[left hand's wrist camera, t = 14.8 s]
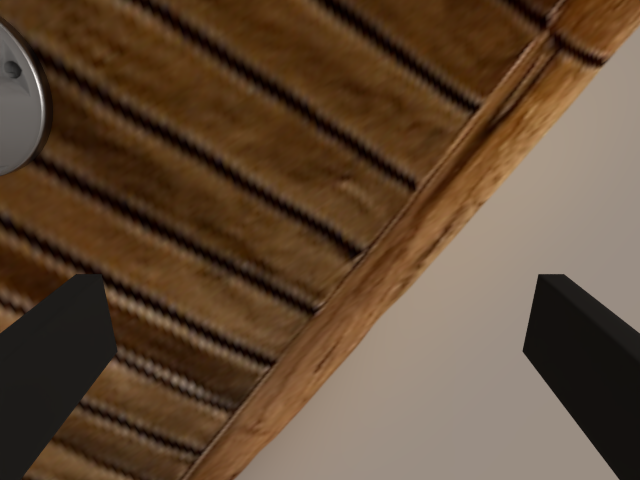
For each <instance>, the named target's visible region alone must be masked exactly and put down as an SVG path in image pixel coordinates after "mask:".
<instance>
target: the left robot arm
mask: <svg viewBox="0 0 640 480" xmlns="http://www.w3.org/2000/svg"><path fill="white" fill-rule="evenodd" d="M52 120H53V103H52V96H51V91H50V87H49V83H48V80H47V77H46V74H45V72H44V70H43V67H42V65H41V63H40V62H39V60H38V58H37V56H36V55H35V53H34V51H33V50H32V48H31V47H30V46H29V44H28V43H27V42H26V40H25V39H24V38H23V37H22V36H21V35H20V33H19V32H18V31H17V30H16V29H15V28H14V27H13V26H12V25H10V24H9V23H8V22H7V21H6V20H5V19H3V18H2V17H1V16H0V176H1V175H5V174H8V173H11V172H14V171H17V170H19V169H21V168H23V167H24V166H26V165H28V164H29V163H30V162H31V161H33V160H34V159H35V158H36V157H37V156H38V154H39V153H40V152H41V150H42V149H43V147H44V146H45V144H46V142H47V139H48V137H49V134H50V130H51V126H52ZM116 353H117V347H116V342H115V337H114V332H113V328H112V323H111V318H110V313H109V308H108V303H107V299H106V294H105V289H104V284H103V279H102V274H76V275H74V276H73V277H72V278H71V279H69V280H68V281H67V282H65V283H64V284H63V285H62V286H60V287H59V288H58V289H57V290H55V291H54V292H53V293H51V294H50V295H49V296H48V297H46V298H45V299H44V300H42V301H41V302H40V303H39V304H37V305H36V306H35V307H34V308H32V309H31V310H30V311H28V312H27V313H26V314H25V315H23V316H22V317H21V318H19V319H18V320H17V321H16V322H14V323H13V324H12V325H11V326H9V327H8V328H7V329H5V330H4V331H3V332H2V333H0V480H21V478H22V477H23V476H24V474H25V473H26V472H27V470H28V469H29V468H30V466H31V465H32V464H33V462H34V461H35V460H36V458H37V457H38V456H39V454H40V453H41V452H42V451H43V449H44V448H45V447H46V445H47V444H48V443H49V441H50V440H51V439H52V437H53V436H54V435H55V433H56V432H57V431H58V429H59V428H60V427H61V425H62V424H63V423H64V421H65V420H66V419H67V417H68V416H69V415H70V413H71V412H72V411H73V410H74V408H75V407H76V406H77V404H78V403H79V402H80V400H81V399H82V398H83V396H84V395H85V394H86V392H87V391H88V390H89V388H90V387H91V386H92V384H93V383H94V382H95V380H96V379H97V378H98V376H99V375H100V374H101V372H102V371H103V370H104V368H105V367H106V366H107V365H108V363H109V362H110V361H111V359H112V358H113V357H114V355H115V354H116ZM523 353H524V354H525V355H526V357H527V358H528V359H529V361H530V362H531V363H532V364H533V366H534V367H535V368H536V370H537V371H538V372H539V374H540V375H541V376H542V378H543V379H544V380H545V382H546V383H547V384H548V386H549V387H550V388H551V390H552V391H553V392H554V394H555V395H556V396H557V398H558V399H559V400H560V402H561V403H562V404H563V406H564V407H565V408H566V409H567V411H568V412H569V413H570V415H571V416H572V417H573V419H574V420H575V421H576V423H577V424H578V425H579V427H580V428H581V429H582V431H583V432H584V433H585V435H586V436H587V437H588V439H589V440H590V441H591V443H592V444H593V445H594V447H595V448H596V449H597V451H598V452H599V453H600V454H601V456H602V457H603V458H604V460H605V461H606V462H607V464H608V465H609V466H610V468H611V469H612V470H613V472H614V473H615V474H616V476H617V477H618V478H619V480H640V333H638V332H637V331H636V330H635V329H633V328H632V327H631V326H629V325H628V324H627V323H626V322H624V321H623V320H622V319H621V318H619V317H618V316H617V315H615V314H614V313H613V312H612V311H610V310H609V309H608V308H606V307H605V306H604V305H603V304H601V303H600V302H599V301H598V300H596V299H595V298H594V297H592V296H591V295H590V294H589V293H587V292H586V291H585V290H583V289H582V288H581V287H580V286H578V285H577V284H576V283H575V282H573V281H572V280H571V279H569V278H568V277H567V276H566V275H564V274H539V275H538V279H537V284H536V289H535V294H534V299H533V303H532V308H531V313H530V318H529V323H528V328H527V332H526V337H525V342H524V347H523Z"/></svg>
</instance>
